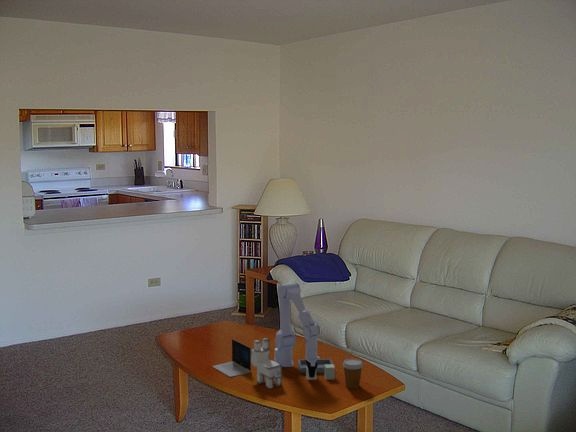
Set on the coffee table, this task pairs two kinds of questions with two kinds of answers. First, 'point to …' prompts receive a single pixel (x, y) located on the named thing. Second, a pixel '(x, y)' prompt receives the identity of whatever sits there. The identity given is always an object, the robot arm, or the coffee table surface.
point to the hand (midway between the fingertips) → (311, 375)
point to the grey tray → (320, 363)
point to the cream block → (308, 374)
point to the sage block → (329, 371)
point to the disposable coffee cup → (352, 372)
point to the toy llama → (265, 364)
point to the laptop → (237, 361)
